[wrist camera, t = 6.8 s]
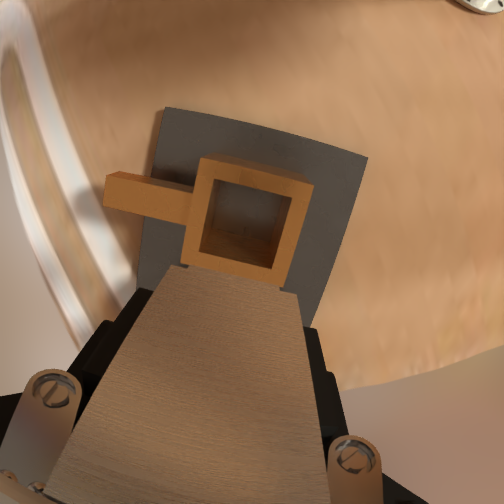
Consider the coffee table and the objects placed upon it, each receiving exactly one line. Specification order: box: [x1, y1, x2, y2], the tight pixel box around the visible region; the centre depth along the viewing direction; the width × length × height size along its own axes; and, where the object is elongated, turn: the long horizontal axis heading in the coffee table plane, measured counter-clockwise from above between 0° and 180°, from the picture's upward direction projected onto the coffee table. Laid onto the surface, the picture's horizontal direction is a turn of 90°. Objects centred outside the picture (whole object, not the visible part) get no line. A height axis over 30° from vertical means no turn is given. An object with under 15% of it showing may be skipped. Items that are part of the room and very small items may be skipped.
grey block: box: [43, 264, 331, 504], centre depth 8 cm, size 4×4×9 cm
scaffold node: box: [103, 107, 368, 328], centre depth 24 cm, size 24×20×15 cm
